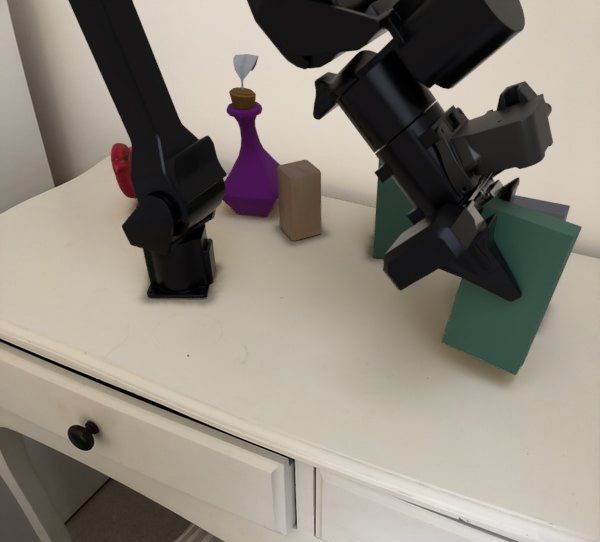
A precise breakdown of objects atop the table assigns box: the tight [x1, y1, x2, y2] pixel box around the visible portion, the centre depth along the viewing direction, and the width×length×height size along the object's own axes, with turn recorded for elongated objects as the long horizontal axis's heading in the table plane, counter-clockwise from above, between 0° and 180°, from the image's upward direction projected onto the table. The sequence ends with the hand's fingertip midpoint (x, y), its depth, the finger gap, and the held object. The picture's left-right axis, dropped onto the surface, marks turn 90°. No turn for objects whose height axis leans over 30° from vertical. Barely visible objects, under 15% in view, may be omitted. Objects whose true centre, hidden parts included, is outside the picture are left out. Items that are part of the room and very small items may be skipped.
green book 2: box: [441, 197, 583, 376], centre depth 52 cm, size 7×2×13 cm, turn 56°
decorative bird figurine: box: [110, 142, 139, 209], centre depth 82 cm, size 3×18×10 cm, turn 0°
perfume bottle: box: [222, 53, 281, 218], centre depth 77 cm, size 8×8×18 cm
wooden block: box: [277, 159, 322, 242], centre depth 76 cm, size 4×4×8 cm
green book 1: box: [372, 148, 414, 260], centre depth 69 cm, size 7×2×13 cm, turn 77°
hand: (521, 289), depth 52 cm, fingers closed on green book 2, 2 cm apart
